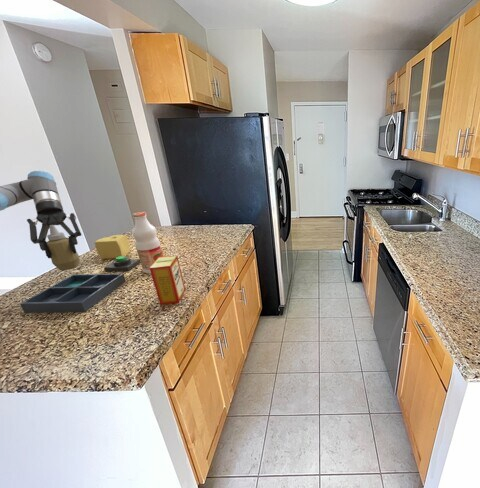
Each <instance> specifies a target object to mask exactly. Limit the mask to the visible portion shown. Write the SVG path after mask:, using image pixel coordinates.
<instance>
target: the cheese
mask: <svg viewBox="0 0 480 488" xmlns="http://www.w3.org/2000/svg"><path fill="white" fill-rule="evenodd" d="M94 246H95V249H96V252H97V254H98V256H99V257H100V259H101V260H108V259H109V260H110V259H116V258H117V257H119V256H126V255H127V254H128V253H130V252H131V251H132V250H131V246H130V242H129V239H128V236H127V235H126V234H113V235H109V236H107V237H106V236H105V237H102V238H99V239H97V240H96V241H94Z"/></svg>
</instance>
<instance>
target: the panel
mask: <svg viewBox="0 0 480 488" xmlns="http://www.w3.org/2000/svg"><path fill="white" fill-rule="evenodd" d="M125 258H126V260H124V261H121V262H117V260H116V258H114V260H113V261H112V262H111V263H109V264H107V265H105V266H104V267H103V270H104V272H105V273H107V272H108V273H109V272H110V273H112V272H117V273H119V272H130V271H132V270H133V269H134V268H136V267H137V266H139V265H141V262H140V259H139V258H130V257H128V256H125Z"/></svg>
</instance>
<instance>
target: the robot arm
mask: <svg viewBox="0 0 480 488" xmlns="http://www.w3.org/2000/svg"><path fill="white" fill-rule="evenodd" d="M60 197H61V196H60V194H59V190H58V187H57V182H56V181H55V178H54V175H52V174H51V173H50V172H48V171H44V170H32V171H30V173H28V174H27V179H23V180H21V181H17V182H11V183H8V184H3V185H0V212H1V211H5V210H6V209H7V208H10V207H12V206H13V207H14V206H16V205H18V204H21V203H24V202H27V201H28V202H29V201H31V200H33V203H34V206H35V210H36V211H35V212H36V214H37V215H36V217H34V218H33V219H31V218H27V219H26V222H27V223H28V225H29V237H30V241H31V243H32V244H34V245H35V244H36V245H37V244H38V245H39V249H40V250H41V251H42V252H45V256H46V258H48V259H51V254H50V252H49V249H48V246H47V242H48V241H47V238H48V237H47V236H48V234H49V231H50V225H54V226H60V227H61V228H62V229H63V230H64V231H65V232H66V233H67V234H68V237H67V238H69V241H70V244H71V248H72V251H73V252H74V253H77V254H78V251H77V249H76V245H78V244H79V242H78V240H77V238H78V237H81V236H82V232H81V231H80V230H81V229H80V227H79V225H78V224H77V221H76V219H77V217H76V215H75V213H74V212H71V213H65V211H64V207H63V205H62V201H61V198H60ZM67 219H68V220H70V222H71V224H72V227H73V229H74V231H75V232H73V230H71V228H70V226H68V225H67V224H66V223H65V222H64V221H65V220H67ZM38 222H39V223H41V227H40V230H39V231H40V232H39V235H38V230H37V225H38Z"/></svg>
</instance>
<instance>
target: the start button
mask: <svg viewBox="0 0 480 488" xmlns="http://www.w3.org/2000/svg"><path fill="white" fill-rule="evenodd" d="M125 257H126V255H124V256H119V257H117V258H115V259H116V260H117V262H121V261H124V260H126V258H125Z"/></svg>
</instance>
